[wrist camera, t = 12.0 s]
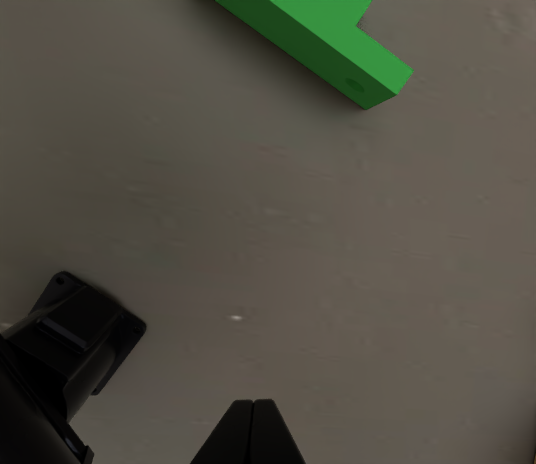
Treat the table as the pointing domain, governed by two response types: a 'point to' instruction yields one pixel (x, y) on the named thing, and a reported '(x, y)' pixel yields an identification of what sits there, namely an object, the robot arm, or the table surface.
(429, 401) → the table surface
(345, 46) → the pipe clamp
